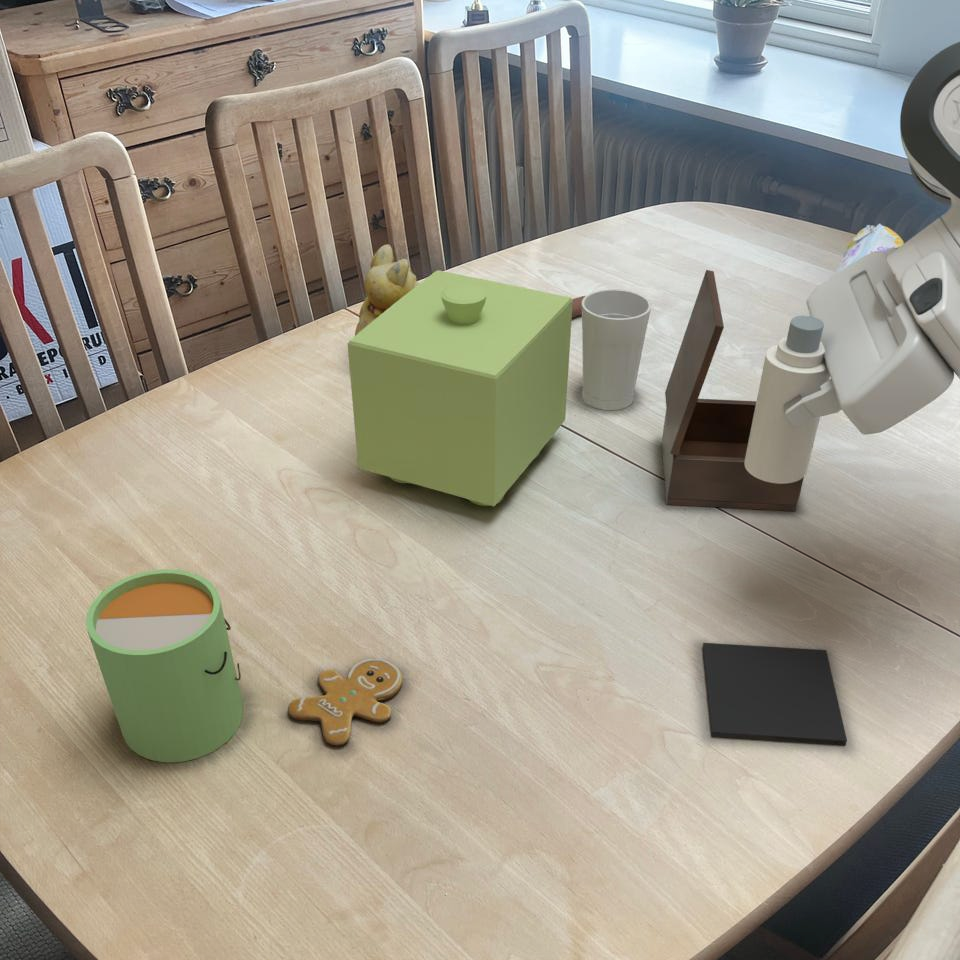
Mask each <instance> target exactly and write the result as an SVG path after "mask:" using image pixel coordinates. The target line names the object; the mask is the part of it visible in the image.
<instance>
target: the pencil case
mask: <svg viewBox="0 0 960 960" xmlns="http://www.w3.org/2000/svg"><path fill="white" fill-rule="evenodd" d="M904 243H905V242H904V240H903V239H902V238H901V237H900V235H899V234H898V233H896V231H894V230H893V229H891V228H890V227H888V226H885V225H883V224H881V223H878V224H877V225H876V226H875V225H870V224H867V225H866V226H865V227H864V228H862V229H861V230H859V231H858V232H857V234H856V235H854V237H853V238H852V239H851V240H850V242H849V243H848V245H847V246H846V249H845V252H844V253H843V258H842V259H841V260H840V262H839V264H838V265H837V267H836V269H835V271H834V272H833V273H832V274H831V275H830V277H828V279H830V278H831V277H833V276H834V275H836V274H837V273H839V272H840V271H842V270H843V269H845V268H846V267H848V266H849V265H851V264H852V263H854V262H856V261H857V260H859V259H861V258H862V257H864V256H866V255H868V254H870V253H872V252H875V251H883V252H885V251H887V250H888V249H890V248H892V247H895V248H897V247H900V246H901V245H903V244H904Z"/></svg>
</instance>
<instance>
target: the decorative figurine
mask: <svg viewBox="0 0 960 960" xmlns="http://www.w3.org/2000/svg"><path fill="white" fill-rule="evenodd" d="M393 254H394V252H393V248H392V246H391V245H390V244H388V243H387V244H384V245H382V246H381V247H380V248H379V249H378V250H377V251H376V252H375V253H374V255H373V256H372V258H371V262H370V268H369V271H368V272H367V273H366V275H365V277H364V278H365V279H364V291H365V294H366V296H365V299H364V301H363V303H362V305H361V306H360V310H359V313H358V322H357V325H356V327H355V331H354V336H356V335H357V334H358V333H359V332H360V331H361V330H363V329H364V328H365V327H366V326H368V325H369V324H370V323H371V322H372V321H374V320H375V319H376V318H377V317H379V316H380V315H381V314H382V313H383V312H385V311H386V310H387V309H388V308H390V307H391V306H392V305H393V304H395V303H396V302H397V301H398V300H400V299H401V298H402V297H403V296H405V295H406V294H407V293H408V292H410V291H411V290H412V289H413V288H415V287H416V286H417V285H419V284H420V283H419V282H418V279H417V276H416V275H415V274H414V273H413V271H412V268H410V263H409V260H408V259H407V258H401V259H400V260H398V261H395V256H394V255H393Z"/></svg>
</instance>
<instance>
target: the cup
mask: <svg viewBox="0 0 960 960" xmlns="http://www.w3.org/2000/svg"><path fill="white" fill-rule="evenodd" d="M584 296H585V297H584V298H583V300H582V315H581V331H582V333H581V335H582V339H581V340H582V389H581V399H582V401H583V402H584V403H585V404H586V405H587V406H589V407H591V408H594V409H597V410H603V411H618V410H623V409H625V408H628V407H629V406H631V405H632V404H633V402H634V398H635V390H636V386H637V385H636V384H637V379H638V375H639V369H640V364H641V359H642V353H643V349H644V344H645V339H646V333H647V329H648V324H649V320H650V314H651V309H652V303H651V301H650V300H649V299H648V298H647V297H646V296H645V295H643V294H640V293H638V292H636V291H632V290H627V289H620V288H618V289H617V288H607V289H600V290H596V291H592V292H590V293H588V294H587V295H584Z"/></svg>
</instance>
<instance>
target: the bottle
mask: <svg viewBox="0 0 960 960" xmlns="http://www.w3.org/2000/svg"><path fill="white" fill-rule="evenodd" d="M823 327H824V323H823V322H822V321H821V320H820V319H818V318H815V317H812V316H810V315H796V316H794V317H792V318H791V319H790V322H789V326H788V331H787V336H784V337H782V338H781V339H779V341H778V342H777V344H774V345H772V346H770V347H768V349H767V350H766V352H765V356H764V362H763V365H762V372H761V376H760V381H759V386H758V393H757V397H756V400H755V401H756V406H755V411H754V416H753V421H752V426H751V431H750V436H749V441H748V446H747V451H746V456H745V462H744V465H745V468H746V470H747V471H748V472H749V473H750V474H751V475H753V476H754V477H756V478H758V479H760V480H763V481H766V482H770V483H778V484H785V483H792V482H796V481H798V480H800V479H802V478H803V477H804V478H805V476H806V475H807V472H808V468H809V464H810V460H811V455H812V452H813V448H814V443H815V440H816V436H817V432H818V428H819V424H820V423H819V422H820V419H821V417H817V418H813V419H812V420H810V421H809V422H807V423H806V424H804V425H803V426H801V427H799V428H794V427H793V426H792V425H791V424H790V423H789V422H788V420H787V419H786V417H785V413H784V405H785V404H786V403H788V402H790V401H791V400H792V399H793V398H795V397H796V396H798V395H799V394H800V395H801V396H802V397H806V396H808V395H811V394H813V393H816V392H818V391H820V390H821V389H820V386H821V385H823V384H824V383H825V382H827V381H828V380H830V379H831V377H830V374H829V371H828V368H827V365H826V361H825V358H824V353H825V349H824V346H823V343H822V342H821V341H820V340H821V336H822V332H823Z"/></svg>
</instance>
